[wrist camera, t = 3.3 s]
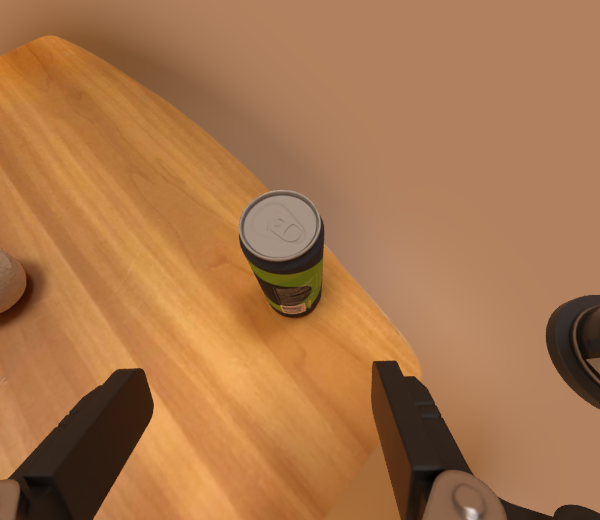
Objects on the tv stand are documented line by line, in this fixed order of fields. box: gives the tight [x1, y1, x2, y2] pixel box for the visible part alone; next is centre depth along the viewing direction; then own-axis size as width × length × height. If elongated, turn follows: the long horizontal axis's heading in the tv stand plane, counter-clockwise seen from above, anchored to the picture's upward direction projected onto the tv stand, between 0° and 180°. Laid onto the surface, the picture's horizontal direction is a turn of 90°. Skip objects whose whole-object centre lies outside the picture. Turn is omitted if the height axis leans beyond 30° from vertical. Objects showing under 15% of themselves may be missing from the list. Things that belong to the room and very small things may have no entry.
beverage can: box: [239, 190, 324, 317], centre depth 27 cm, size 6×6×15 cm
